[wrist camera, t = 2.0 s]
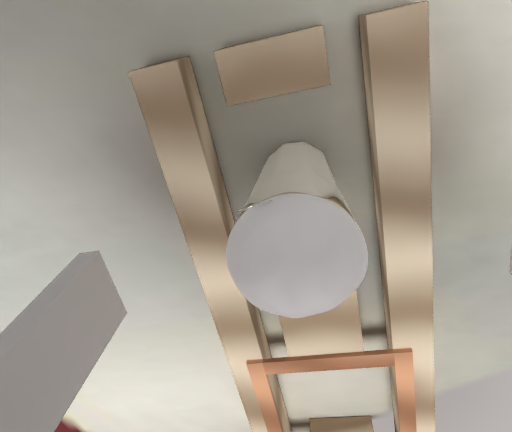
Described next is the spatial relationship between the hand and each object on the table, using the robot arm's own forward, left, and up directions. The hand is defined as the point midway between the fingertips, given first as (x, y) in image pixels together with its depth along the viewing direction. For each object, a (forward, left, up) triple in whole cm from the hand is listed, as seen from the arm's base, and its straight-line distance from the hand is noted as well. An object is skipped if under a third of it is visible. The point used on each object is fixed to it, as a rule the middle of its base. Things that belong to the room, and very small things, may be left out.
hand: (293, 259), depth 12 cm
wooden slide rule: (+8, 0, -8) cm, 11 cm away
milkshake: (0, 0, -8) cm, 8 cm away
